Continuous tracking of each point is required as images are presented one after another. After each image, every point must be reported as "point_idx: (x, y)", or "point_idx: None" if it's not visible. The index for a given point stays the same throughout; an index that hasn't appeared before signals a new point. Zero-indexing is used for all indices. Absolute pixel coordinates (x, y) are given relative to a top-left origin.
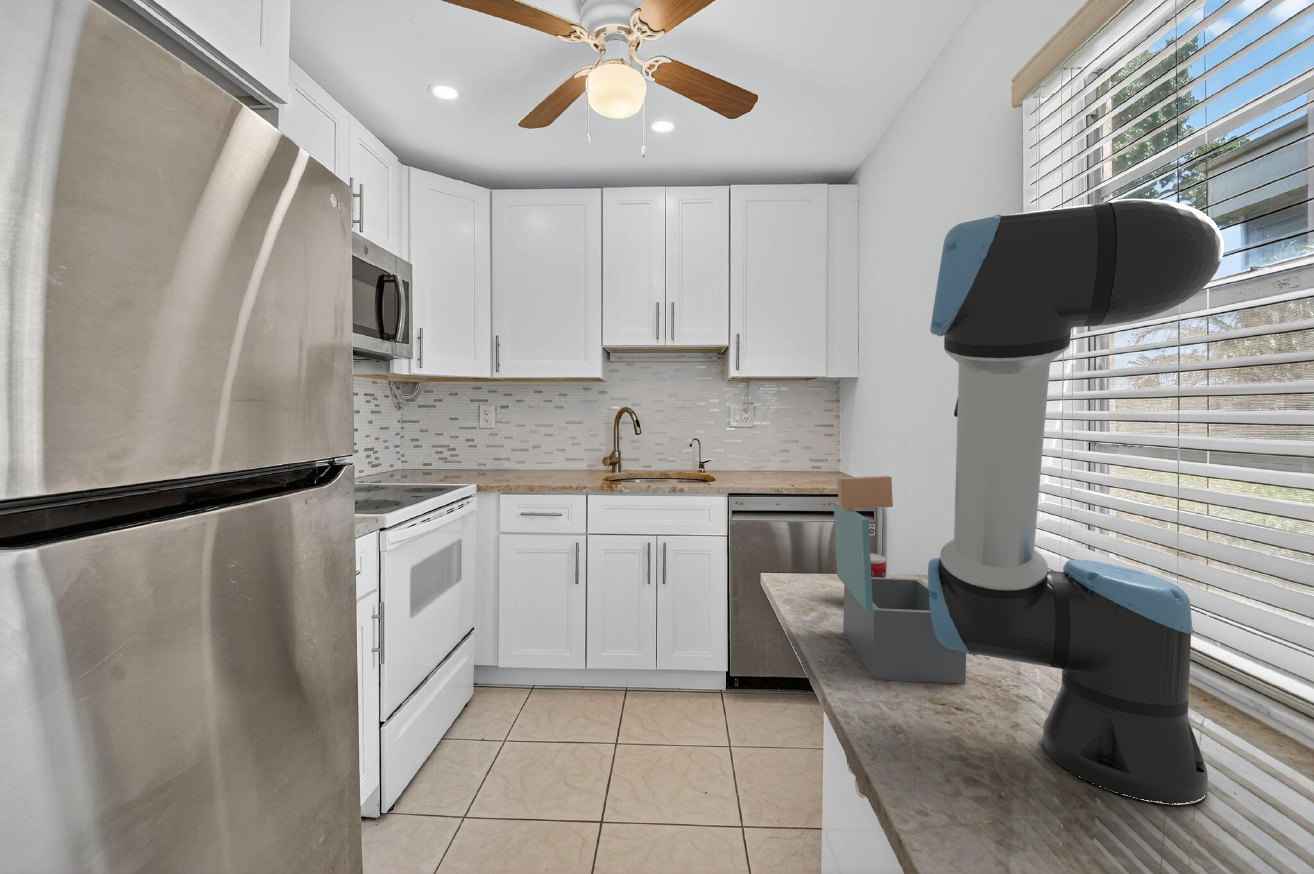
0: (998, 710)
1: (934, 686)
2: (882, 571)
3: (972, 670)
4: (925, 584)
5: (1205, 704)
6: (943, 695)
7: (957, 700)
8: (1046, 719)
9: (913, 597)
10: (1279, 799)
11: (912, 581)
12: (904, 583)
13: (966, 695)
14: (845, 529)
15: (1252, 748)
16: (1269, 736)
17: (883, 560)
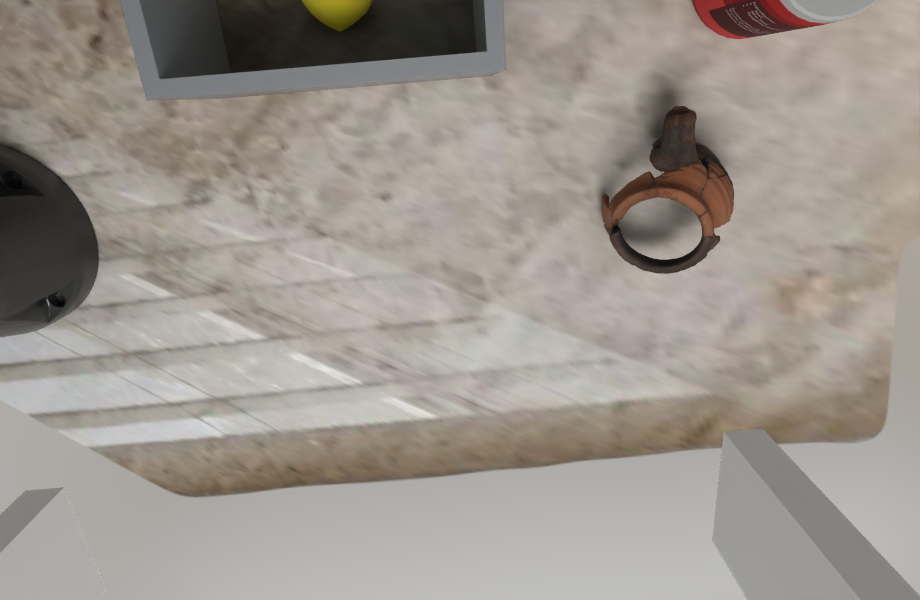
0: (121, 122)
1: None
2: (759, 4)
3: (304, 140)
4: (438, 69)
5: (275, 460)
6: None
7: None
8: (6, 165)
9: (482, 47)
10: (4, 384)
11: (485, 37)
12: (483, 9)
13: None
14: None
15: (141, 436)
16: (190, 476)
17: (789, 2)
